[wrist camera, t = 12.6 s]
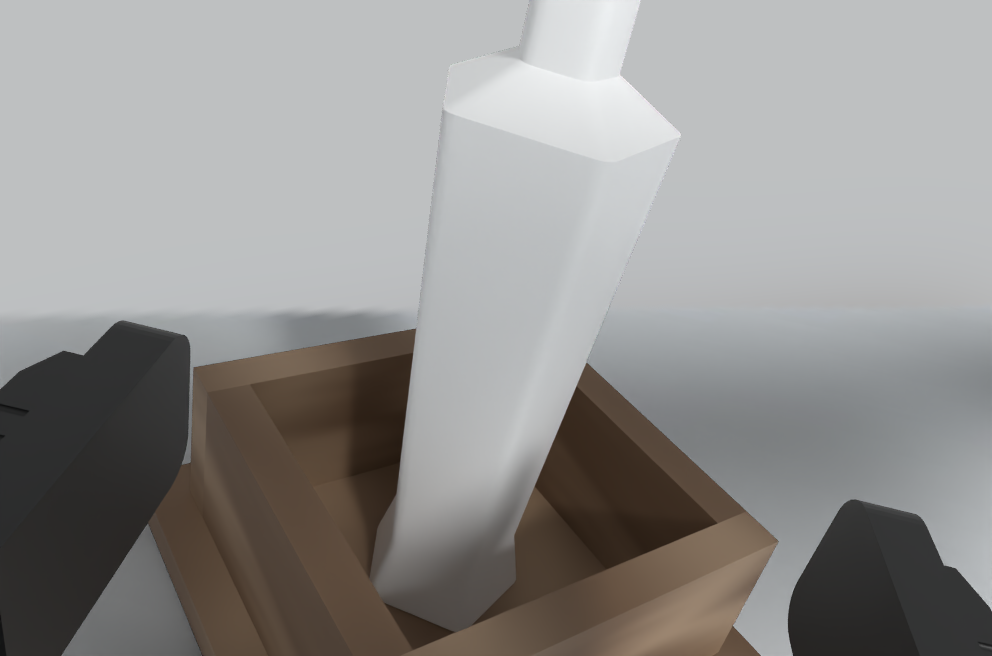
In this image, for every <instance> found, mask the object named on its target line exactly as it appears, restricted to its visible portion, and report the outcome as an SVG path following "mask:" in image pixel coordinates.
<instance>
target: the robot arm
mask: <svg viewBox="0 0 992 656" xmlns="http://www.w3.org/2000/svg"><path fill="white" fill-rule="evenodd" d="M189 382H190V344H189V340H188V338H187V337H186V336H185V335H181V334H177V333H173V332H169V331H165V330H161V329H156V328H152V327H148V326H144V325H140V324H136V323H132V322H127V321H119V322H117V323H115V324H114V325H113V326H112V327H111V328H110V329H109V330H108V331H107V332H106V333H105V334H104V335H103V336H102V337H101V338H100V339H99V340H98V341H97V342H96V343H95V344H94V345H93V346H92V347H91V348H90V349H89V350H88V351H87V352H86V354H85V355H84V356H83V355H79V354H75V353H71V352H67V351H62V352H60V353H58V354H56V355H54V356H52V357H49V358H47V359H45V360H43V361H41V362H39V363H37V364H34V365H32V366H30V367H28V368H26V369H24V370H22V371H20V372H18V373H17V374H16V375H15V376H14V377H13V378H12V379H11V380H10V381H9V382H8V383H7V384H6V385H5V386H4V387H2V388H1V389H0V656H61V655H62V653H63V652H64V650H65V649H66V647H67V646H68V644H69V643H70V641H71V639H72V638H73V636H74V635H75V633H76V632H77V630H78V629H79V627H80V626H81V624H82V623H83V621H84V620H85V618H86V617H87V615H88V613H89V612H90V610H91V609H92V607H93V606H94V604H95V603H96V601H97V600H98V598H99V597H100V595H101V594H102V592H103V591H104V589H105V587H106V586H107V584H108V583H109V581H110V580H111V578H112V577H113V575H114V574H115V572H116V571H117V569H118V568H119V566H120V565H121V563H122V561H123V560H124V558H125V557H126V555H127V554H128V552H129V551H130V549H131V548H132V546H133V545H134V543H135V542H136V540H137V539H138V537H139V535H140V534H141V532H142V531H143V529H144V528H145V526H146V525H147V523H148V522H149V520H150V519H151V517H152V516H153V514H154V513H155V511H156V509H157V508H158V506H159V505H160V503H161V502H162V500H163V499H164V497H165V496H166V494H167V493H168V491H169V490H170V488H171V486H172V485H173V483H174V481H175V479H176V477H177V475H178V472H179V470H180V467H181V465H182V461H183V458H184V455H185V451H186V446H187V440H188V419H189ZM788 633H789V639H790V644H791V648H792V653H793V656H992V611H991V609H990V607H989V606H988V605H987V604H986V603H985V602H984V600H983V599H982V598H981V597H980V596H979V595H978V594H977V592H976V591H975V590H974V589H973V588H972V587H971V585H970V584H969V583H968V582H967V581H966V580H965V579H964V577H963V576H962V575H961V574H960V573H959V572H958V571H957V569H956V568H952V567H948V566H944V565H943V562H942V560H941V558H940V556H939V553H938V551H937V549H936V547H935V544H934V542H933V540H932V538H931V536H930V533H929V531H928V529H927V527H926V525H925V523H924V521H923V520H922V519H921V518H920V517H919V516H918V515H916V514H913V513H908V512H904V511H900V510H896V509H892V508H888V507H884V506H879V505H875V504H871V503H867V502H863V501H859V500H850V501H848V502H846V503H845V504H844V505H843V506H842V507H841V508H840V510H839V511H838V513H837V515H836V516H835V518H834V520H833V521H832V523H831V525H830V527H829V528H828V530H827V532H826V534H825V535H824V537H823V539H822V540H821V542H820V544H819V546H818V547H817V549H816V551H815V552H814V554H813V556H812V558H811V559H810V561H809V563H808V565H807V566H806V568H805V570H804V571H803V573H802V575H801V577H800V578H799V580H798V582H797V584H796V586H795V588H794V591H793V594H792V597H791V601H790V606H789V613H788Z"/></svg>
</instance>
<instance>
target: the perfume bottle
mask: <svg viewBox="0 0 992 656" xmlns="http://www.w3.org/2000/svg"><path fill="white" fill-rule="evenodd" d="M640 2H641V0H529V4H528V9H527V13H526V18H525V22H524V27H523V31H522V36H521V40H520V45H519V46H517V47H513V48H509V49H506V50H502V51H498V52H495V53H491V54H488V55H484V56H480V57H477V58H473V59H469V60H466V61H462V62H458V63H455V64H451V65H450V66H449V72H448V78H447V85H446V91H445V96H444V103H443V110H442V118H441V127H440V135H439V144H438V152H437V160H436V168H435V177H434V186H433V193H432V202H431V210H430V219H429V227H428V235H427V243H426V252H425V261H424V268H423V277H422V286H421V293H420V302H419V310H418V319H417V327H416V335H415V344H414V352H413V360H412V369H411V377H410V385H409V394H408V402H407V410H406V419H405V427H404V435H403V444H402V452H401V460H400V469H399V477H398V486H397V494H396V496H395V498H394V499H393V501H392V503H391V504H390V506H389V508H388V510H387V511H386V513H385V515H384V517H383V518H382V520H381V522H380V524H379V526H378V528H377V534H376V540H375V547H374V553H373V559H372V566H371V572H370V578H369V579H370V581H371V582H372V584H373V586H374V587H375V589H376V590H377V592H378V594H379V595H380V597H381V599H382V600H383V602H384V603H386V604H388V605H391V606H393V607H396V608H398V609H400V610H403V611H405V612H408V613H410V614H412V615H415V616H417V617H419V618H422V619H424V620H427V621H429V622H431V623H434V624H436V625H439V626H441V627H443V628H446V629H448V630H451V631H454V632H458V631H461V630H463V629H465V628H468V627H470V626H471V625H472V624H473V623H474V622H475V621H476V620H477V619H478V618H479V617H480V616H481V615H482V614H483V613H484V612H485V611H486V610H487V609H488V608H489V607H490V606H491V605H492V604H493V603H494V602H495V601H496V600H497V599H498V598H499V597H500V596H501V595H502V594H503V593H504V592H506V591H507V590H508V589H509V588H510V587H511V586H512V585H513V584H514V582H515V581H516V563H515V542H514V534H515V532H516V530H517V527H518V525H519V522H520V520H521V518H522V515H523V513H524V510H525V508H526V506H527V503H528V501H529V498H530V496H531V494H532V491H533V489H534V486H535V484H536V482H537V479H538V477H539V475H540V472H541V470H542V467H543V465H544V463H545V460H546V458H547V455H548V453H549V451H550V448H551V446H552V443H553V441H554V439H555V436H556V434H557V431H558V429H559V427H560V424H561V422H562V419H563V417H564V415H565V412H566V410H567V407H568V405H569V403H570V400H571V398H572V396H573V393H574V391H575V388H576V386H577V384H578V381H579V379H580V376H581V374H582V372H583V369H584V367H585V364H586V362H587V360H588V357H589V355H590V352H591V350H592V348H593V345H594V343H595V340H596V338H597V336H598V333H599V331H600V329H601V326H602V324H603V321H604V319H605V317H606V314H607V312H608V309H609V307H610V305H611V302H612V300H613V297H614V295H615V293H616V290H617V288H618V285H619V283H620V281H621V278H622V276H623V273H624V271H625V268H626V266H627V264H628V261H629V259H630V257H631V254H632V252H633V250H634V247H635V245H636V242H637V240H638V237H639V235H640V233H641V230H642V228H643V226H644V223H645V221H646V218H647V216H648V213H649V211H650V209H651V206H652V204H653V202H654V199H655V197H656V194H657V192H658V190H659V187H660V185H661V182H662V180H663V178H664V175H665V173H666V171H667V168H668V166H669V163H670V161H671V159H672V156H673V154H674V151H675V149H676V147H677V144H678V142H679V139H680V137H681V134H680V132H679V131H678V130H677V129H676V128H675V127H674V126H673V125H672V124H670V123H669V121H667V120H666V119H665V118H664V117H663V116H662V115H661V114H660V113H659V112H658V111H657V110H656V109H655V108H654V107H653V106H652V105H651V104H650V103H649V102H648V101H647V100H646V99H645V98H644V97H643V96H642V95H640V93H638V92H637V91H636V90H635V89H634V88H633V87H632V86H631V85H630V84H629V83H628V82H627V81H626V80H625V79H624V78H623V77H622V76H621V75H620V71H621V68H622V64H623V61H624V57H625V54H626V50H627V47H628V43H629V40H630V36H631V33H632V29H633V26H634V22H635V19H636V15H637V12H638V8H639V5H640Z"/></svg>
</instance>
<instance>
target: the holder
mask: <svg viewBox="0 0 992 656" xmlns="http://www.w3.org/2000/svg"><path fill="white" fill-rule="evenodd" d="M415 335H416V329H411V330H405V331H400V332H394V333H388V334H382V335H377V336H371V337H365V338H360V339H354V340H348V341H342V342H337V343H331V344H325V345H320V346H314V347H308V348H302V349H297V350H291V351H285V352H279V353H274V354H268V355H262V356H257V357H251V358H245V359H239V360H234V361H228V362H222V363H217V364H211V365H205V366H199V367H194V369H193V404H192V440H191V463H189V464H184V465H181V467H180V470H179V472H178V475H177V477H176V479H175V481H174V483H173V485H172V486H171V488H170V490H169V491H168V493H167V494H166V496H165V497H164V499H163V500H162V502H161V503H160V505H159V506H158V508H157V509H156V511H155V513H154V514H153V516H152V517H151V519H150V520H149V522H148V524H149V526H150V529H151V531H152V534H153V536H154V539H155V541H156V543H157V546H158V548H159V551H160V553H161V556H162V558H163V560H164V563H165V565H166V568H167V570H168V573H169V575H170V577H171V580H172V582H173V585H174V587H175V590H176V592H177V595H178V597H179V599H180V602H181V604H182V607H183V609H184V612H185V614H186V616H187V619H188V621H189V624H190V626H191V629H192V631H193V634H194V636H195V638H196V641H197V643H198V646H199V648H200V651H201V653H202V655H203V656H761V655H760V654H759V653H758V652H757V651H756V650H755V649H754V648H753V647H752V646H751V645H750V644H749V643H748V642H747V641H746V639H745V638H744V637H743V636H742V635H741V634H740V633H739V632H738V631H737V630H736V629H735V628H734V627H733V624H734V623H735V621H736V619H737V617H738V615H739V613H740V612H741V610H742V608H743V606H744V604H745V602H746V600H747V599H748V597H749V595H750V593H751V591H752V589H753V588H754V586H755V584H756V582H757V580H758V578H759V577H760V575H761V573H762V571H763V569H764V567H765V566H766V564H767V562H768V560H769V558H770V556H771V555H772V553H773V551H774V549H775V547H776V545H777V544H778V542H779V541H778V540H777V539H776V538H775V537H773V536H772V535H771V534H770V533H769V532H768V531H767V530H766V529H765V528H764V527H763V526H762V525H761V524H760V523H758V522H757V521H756V520H755V519H754V518H753V517H752V516H751V515H750V514H749V513H748V512H747V511H746V510H744V509H743V508H742V507H741V506H740V505H739V504H738V503H737V502H736V501H735V500H734V499H733V498H732V497H730V496H729V495H728V494H727V493H726V492H725V491H724V490H723V489H722V488H721V487H720V486H719V485H718V484H717V483H715V482H714V481H713V480H712V479H711V478H710V477H709V476H708V475H707V474H706V473H705V472H704V471H703V470H701V469H700V468H699V467H698V466H697V465H696V464H695V463H694V462H693V461H692V460H691V459H690V458H689V457H687V456H686V455H685V454H684V453H683V452H682V451H681V450H680V449H679V448H678V447H677V446H676V445H675V444H673V443H672V442H671V441H670V440H669V439H668V438H667V437H666V436H665V435H664V434H663V433H662V432H661V431H660V430H658V429H657V428H656V427H655V426H654V425H653V424H652V423H651V422H650V421H649V420H648V419H647V418H646V417H644V416H643V415H642V414H641V413H640V412H639V411H638V410H637V409H636V408H635V407H634V406H633V405H632V404H630V403H629V402H628V401H627V400H626V399H625V398H624V397H623V396H622V395H621V394H620V393H619V392H618V391H617V390H615V389H614V388H613V387H612V386H611V385H610V384H609V383H608V382H607V381H606V380H605V379H604V378H603V377H601V376H600V375H599V374H598V373H597V372H596V371H595V370H594V369H593V368H592V367H591V366H590V365H589V364H587V363H586V364H585V367H584V369H583V372H582V374H581V376H580V379H579V381H578V384H577V386H576V388H575V391H574V393H573V396H572V398H571V400H570V403H569V405H568V407H567V410H566V412H565V415H564V417H563V419H562V422H561V424H560V427H559V429H558V431H557V434H556V436H555V439H554V441H553V443H552V446H551V448H550V451H549V453H548V455H547V458H546V460H545V463H544V465H543V467H542V470H541V472H540V475H539V477H538V479H537V482H536V484H535V486H534V489H533V491H532V494H531V496H530V498H529V501H528V503H527V506H526V508H525V510H524V513H523V515H522V518H521V520H520V522H519V525H518V527H517V530H516V532H515V534H514V542H515V563H516V581H515V582H514V584H513V585H512V586H511V587H510V588H509V589H508V590H507V591H506V592H504V593H503V594H502V595H501V596H500V597H499V598H498V599H497V600H496V601H495V602H494V603H493V604H492V605H491V606H490V607H489V608H488V609H487V610H486V611H485V612H484V613H483V614H482V615H481V616H480V617H479V618H478V619H477V620H476V621H475V622H474V623H473V624H472V625H471V626H470V627H468V628H465V629H463V630H461V631H458V632H454V631H451V630H448V629H446V628H443V627H441V626H439V625H436V624H434V623H431V622H429V621H427V620H424V619H422V618H419V617H417V616H415V615H412V614H410V613H408V612H405V611H403V610H400V609H398V608H396V607H393V606H391V605H388V604H386V603H384V602H383V600H382V599H381V597H380V595H379V594H378V592H377V590H376V589H375V587H374V586H373V584H372V582H371V581H370V579H369V578H370V572H371V566H372V559H373V553H374V547H375V540H376V534H377V528H378V526H379V524H380V522H381V520H382V518H383V517H384V515H385V513H386V511H387V510H388V508H389V506H390V504H391V503H392V501H393V499H394V498H395V496H396V494H397V486H398V477H399V469H400V460H401V452H402V444H403V435H404V427H405V419H406V410H407V402H408V394H409V385H410V377H411V369H412V360H413V352H414V344H415Z"/></svg>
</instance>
